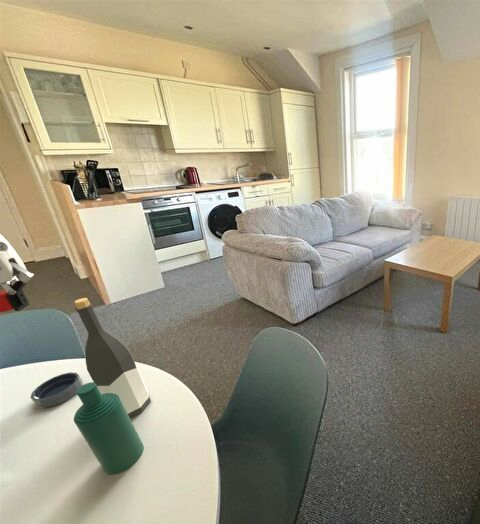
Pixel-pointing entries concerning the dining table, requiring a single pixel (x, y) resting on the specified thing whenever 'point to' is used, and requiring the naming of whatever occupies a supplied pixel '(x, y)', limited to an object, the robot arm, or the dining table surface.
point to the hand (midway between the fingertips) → (10, 309)
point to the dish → (56, 390)
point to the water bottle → (107, 429)
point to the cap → (4, 302)
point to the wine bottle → (112, 363)
